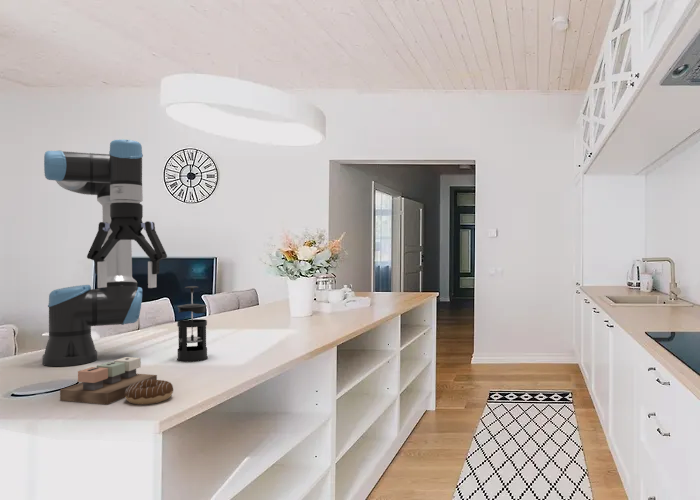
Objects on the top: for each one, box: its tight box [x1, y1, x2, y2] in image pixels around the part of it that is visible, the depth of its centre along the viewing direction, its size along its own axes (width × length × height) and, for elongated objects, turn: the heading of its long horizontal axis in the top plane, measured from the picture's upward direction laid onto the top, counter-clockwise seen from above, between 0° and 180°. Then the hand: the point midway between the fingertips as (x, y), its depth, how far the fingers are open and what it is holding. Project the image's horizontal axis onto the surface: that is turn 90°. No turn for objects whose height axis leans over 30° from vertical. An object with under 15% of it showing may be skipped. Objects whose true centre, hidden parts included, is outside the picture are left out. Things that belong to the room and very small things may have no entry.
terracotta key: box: [77, 366, 108, 383], centre depth 125 cm, size 4×4×3 cm
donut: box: [124, 379, 174, 406], centre depth 125 cm, size 11×11×4 cm
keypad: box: [59, 369, 158, 406], centre depth 131 cm, size 13×18×4 cm
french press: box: [176, 285, 209, 363], centre depth 170 cm, size 12×9×23 cm
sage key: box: [96, 361, 125, 377], centre depth 131 cm, size 4×4×3 cm
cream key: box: [113, 356, 142, 371], centre depth 137 cm, size 4×4×3 cm
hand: (127, 287), depth 135 cm, fingers open, 13 cm apart
